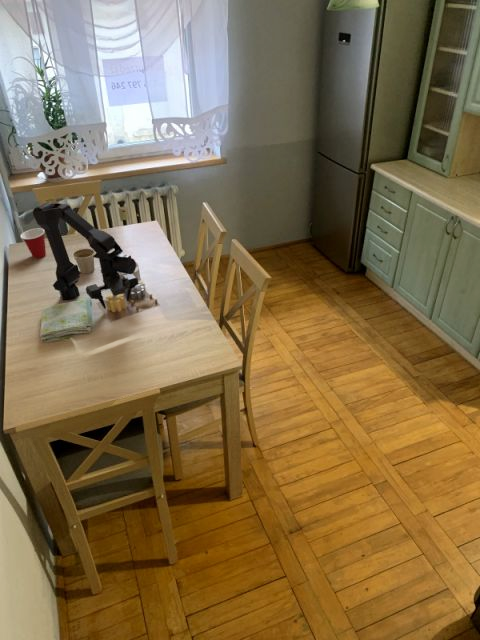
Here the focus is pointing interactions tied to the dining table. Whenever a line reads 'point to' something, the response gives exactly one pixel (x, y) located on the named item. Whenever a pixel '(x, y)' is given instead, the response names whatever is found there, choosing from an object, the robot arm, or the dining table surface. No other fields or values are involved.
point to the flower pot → (85, 260)
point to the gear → (137, 292)
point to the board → (130, 307)
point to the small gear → (141, 283)
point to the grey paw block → (133, 273)
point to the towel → (66, 320)
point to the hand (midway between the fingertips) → (116, 304)
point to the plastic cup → (35, 242)
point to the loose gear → (115, 302)
